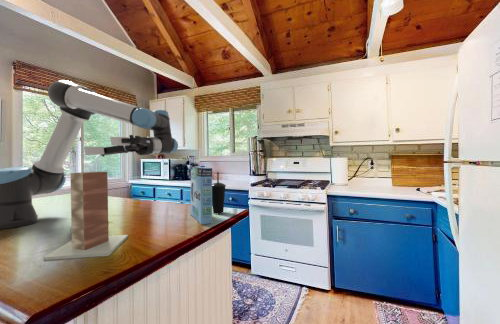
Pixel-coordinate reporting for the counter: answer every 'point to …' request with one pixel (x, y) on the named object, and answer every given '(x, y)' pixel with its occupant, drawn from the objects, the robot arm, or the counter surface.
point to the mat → (96, 251)
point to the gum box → (201, 194)
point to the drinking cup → (218, 196)
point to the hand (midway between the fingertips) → (97, 146)
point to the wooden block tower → (89, 209)
